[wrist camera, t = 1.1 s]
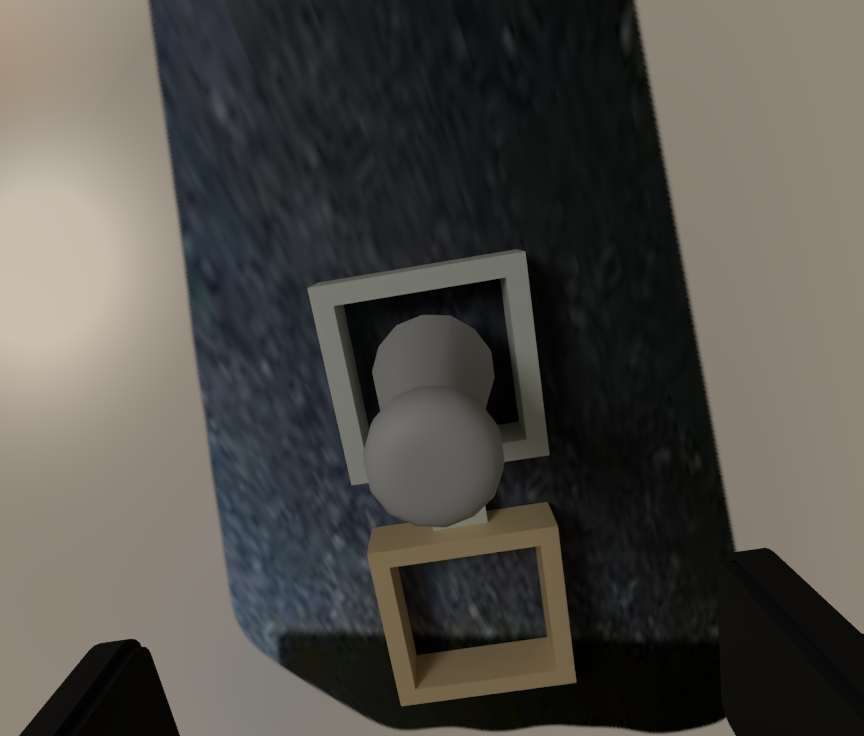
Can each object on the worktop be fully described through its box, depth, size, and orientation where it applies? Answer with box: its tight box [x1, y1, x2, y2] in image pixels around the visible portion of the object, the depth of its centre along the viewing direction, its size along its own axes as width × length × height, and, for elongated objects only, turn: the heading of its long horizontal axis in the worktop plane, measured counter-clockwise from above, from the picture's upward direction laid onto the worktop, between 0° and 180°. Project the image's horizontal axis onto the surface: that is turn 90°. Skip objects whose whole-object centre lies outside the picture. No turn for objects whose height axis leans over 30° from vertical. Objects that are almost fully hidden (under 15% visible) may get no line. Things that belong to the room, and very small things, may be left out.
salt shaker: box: [363, 315, 504, 527], centre depth 21 cm, size 6×6×13 cm
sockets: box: [307, 249, 576, 706], centre depth 28 cm, size 24×10×2 cm, turn 9°
